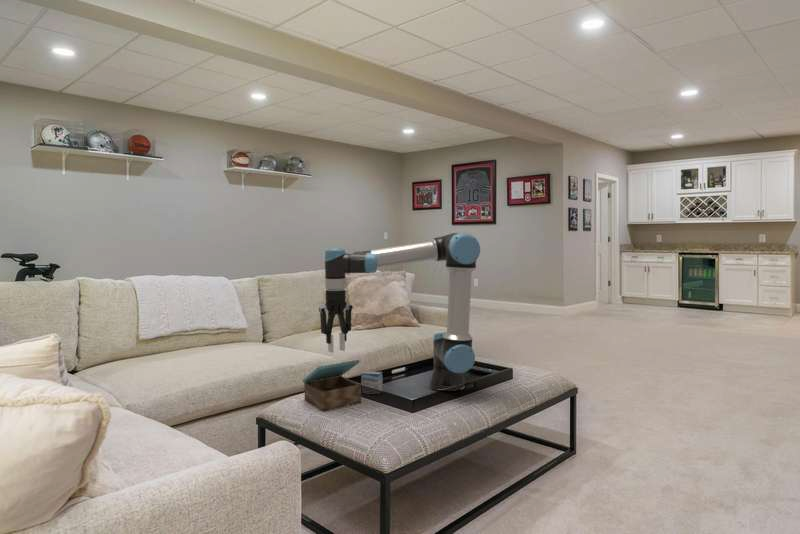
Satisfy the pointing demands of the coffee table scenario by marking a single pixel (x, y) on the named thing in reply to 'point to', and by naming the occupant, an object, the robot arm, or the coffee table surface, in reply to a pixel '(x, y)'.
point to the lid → (330, 371)
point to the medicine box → (372, 379)
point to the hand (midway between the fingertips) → (336, 350)
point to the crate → (332, 393)
